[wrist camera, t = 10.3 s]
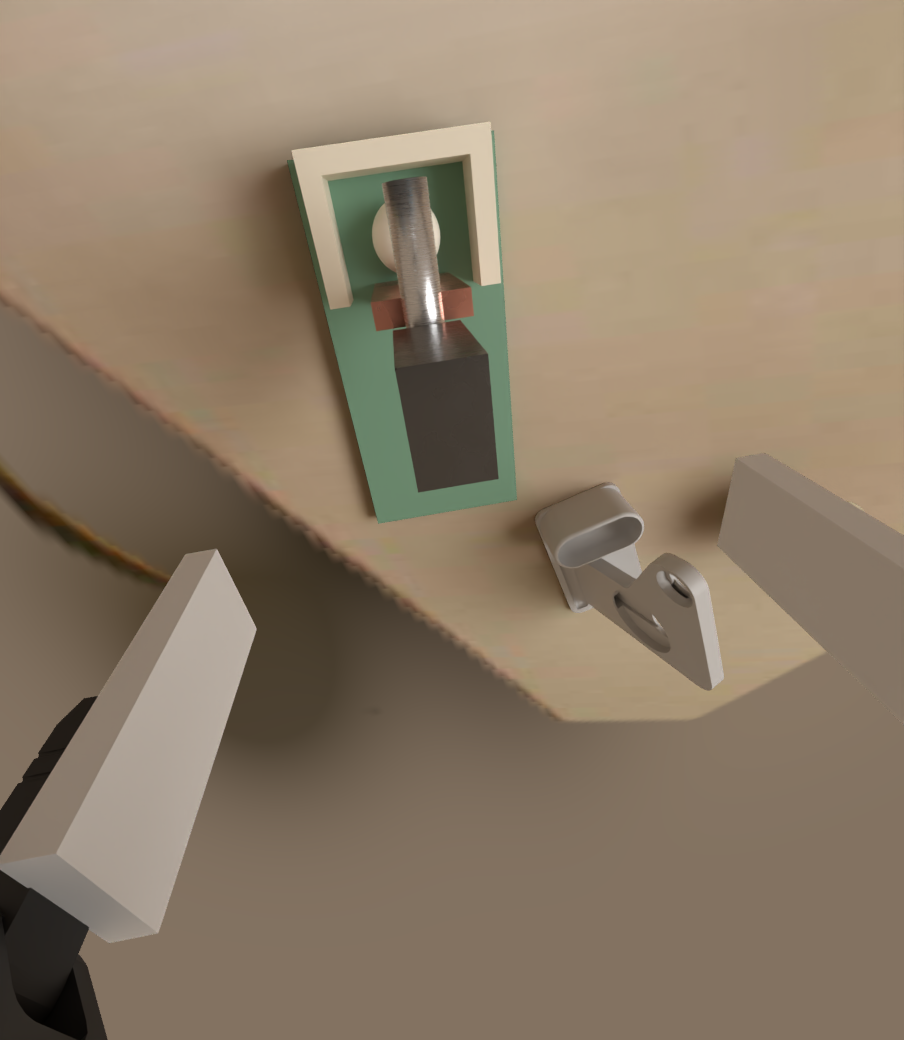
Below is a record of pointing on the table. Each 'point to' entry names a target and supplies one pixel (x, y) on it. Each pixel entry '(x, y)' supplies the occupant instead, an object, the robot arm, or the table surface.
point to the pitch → (357, 268)
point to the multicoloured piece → (434, 351)
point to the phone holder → (631, 581)
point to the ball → (384, 240)
